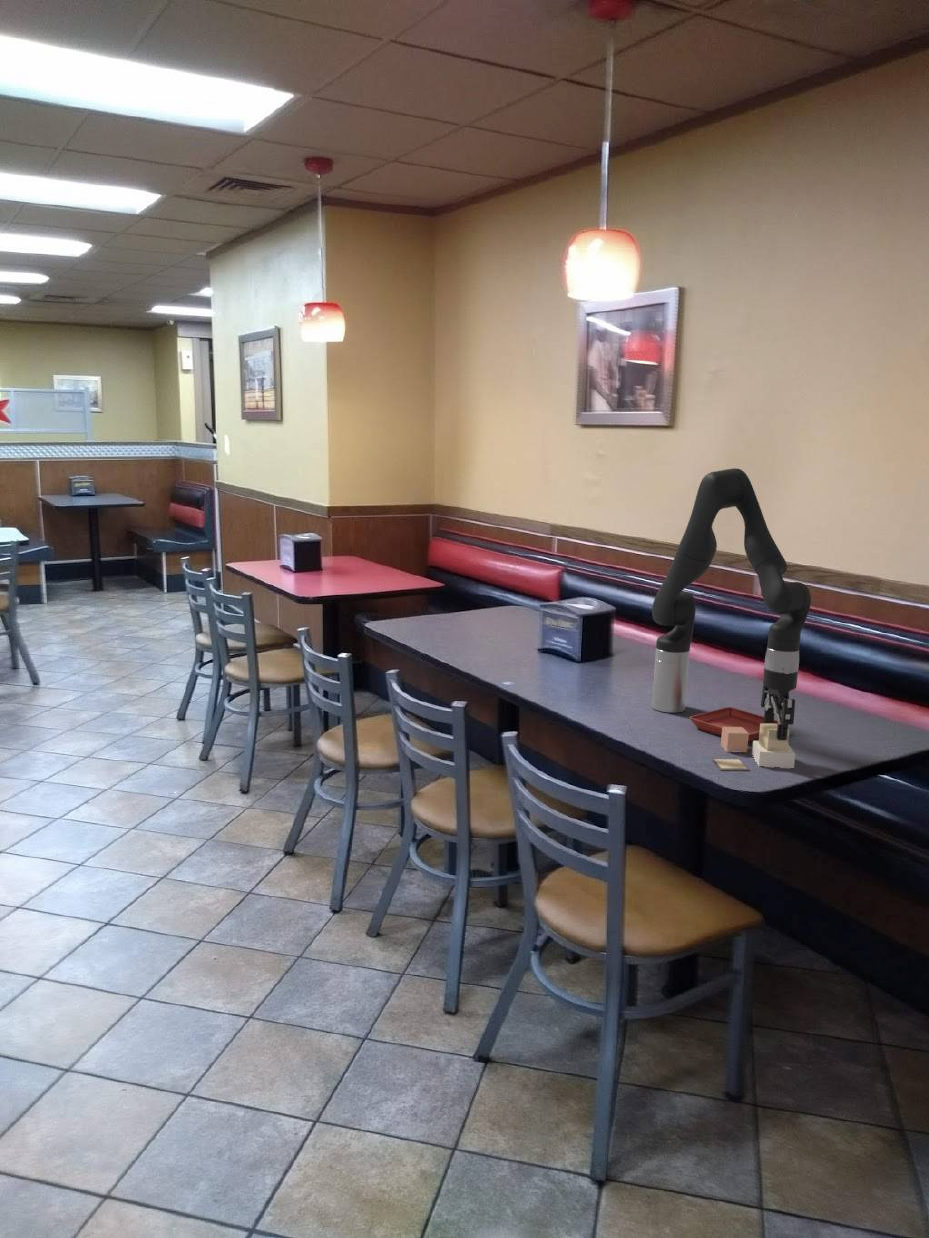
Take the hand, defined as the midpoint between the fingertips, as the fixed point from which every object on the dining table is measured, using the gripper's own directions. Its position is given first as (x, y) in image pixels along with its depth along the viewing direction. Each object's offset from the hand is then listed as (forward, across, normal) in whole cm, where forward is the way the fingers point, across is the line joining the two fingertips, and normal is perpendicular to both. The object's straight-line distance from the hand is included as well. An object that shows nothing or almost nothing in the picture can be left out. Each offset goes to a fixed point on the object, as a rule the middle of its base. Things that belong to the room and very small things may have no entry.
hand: (774, 733), depth 218 cm
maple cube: (+3, 0, 0) cm, 3 cm away
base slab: (+7, 0, 0) cm, 7 cm away
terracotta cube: (+7, -8, -6) cm, 13 cm away
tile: (+7, +3, -11) cm, 13 cm away
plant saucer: (+8, -23, -1) cm, 24 cm away
